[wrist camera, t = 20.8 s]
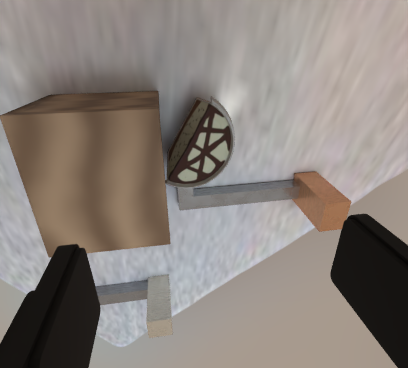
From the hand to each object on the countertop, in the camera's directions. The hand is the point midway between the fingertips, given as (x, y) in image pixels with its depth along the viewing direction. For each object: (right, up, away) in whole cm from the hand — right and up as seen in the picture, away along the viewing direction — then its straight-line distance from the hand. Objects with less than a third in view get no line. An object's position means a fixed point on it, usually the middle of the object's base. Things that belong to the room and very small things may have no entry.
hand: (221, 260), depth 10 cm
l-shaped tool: (-17, -18, +43) cm, 50 cm away
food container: (-1, +11, +32) cm, 34 cm away
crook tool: (+7, +5, +36) cm, 37 cm away
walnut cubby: (-14, +8, +31) cm, 35 cm away
